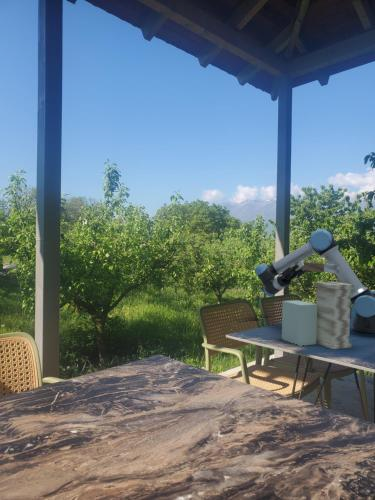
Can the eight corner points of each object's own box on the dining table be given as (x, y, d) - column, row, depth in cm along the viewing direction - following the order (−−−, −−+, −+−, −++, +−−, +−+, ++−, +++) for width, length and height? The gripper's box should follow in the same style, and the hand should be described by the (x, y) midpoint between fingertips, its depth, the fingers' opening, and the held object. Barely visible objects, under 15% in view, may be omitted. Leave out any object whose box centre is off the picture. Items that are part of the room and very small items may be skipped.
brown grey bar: (300, 269, 217) (301, 261, 217) (339, 273, 192) (339, 264, 192) (294, 269, 216) (295, 261, 215) (332, 273, 190) (333, 264, 190)
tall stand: (330, 340, 201) (332, 281, 201) (352, 347, 189) (354, 284, 188) (312, 342, 197) (313, 282, 196) (332, 349, 184) (334, 285, 183)
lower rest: (297, 337, 205) (298, 300, 205) (316, 344, 193) (317, 304, 192) (281, 339, 201) (282, 301, 201) (299, 345, 189) (300, 305, 188)
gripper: (295, 286, 231) (321, 269, 212) (271, 287, 224) (295, 269, 205) (292, 275, 234) (316, 256, 215) (268, 275, 227) (291, 256, 208)
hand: (306, 263), depth 210 cm, fingers closed on brown grey bar, 4 cm apart
